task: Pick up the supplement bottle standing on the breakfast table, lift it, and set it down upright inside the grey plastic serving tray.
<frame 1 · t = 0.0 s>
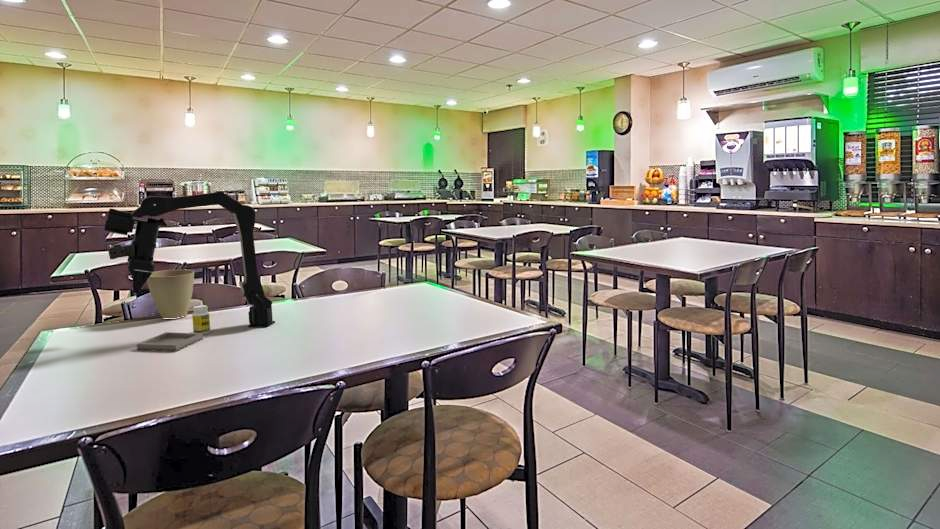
hand: (134, 290, 157), 15 cm above the table, tool pointing down, fingers open, 9 cm apart
tray: (171, 344, 156), on the table
supplement bottle: (202, 333, 168), on the table
plant pot: (174, 318, 188), on the table
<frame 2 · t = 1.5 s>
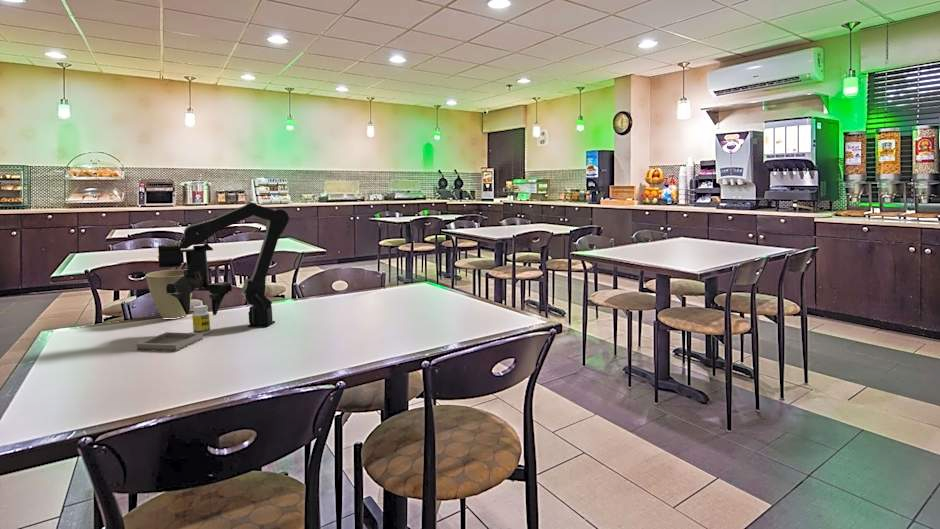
hand: (201, 314, 168), 6 cm above the table, tool pointing down, fingers open, 9 cm apart
nothing on the table moved.
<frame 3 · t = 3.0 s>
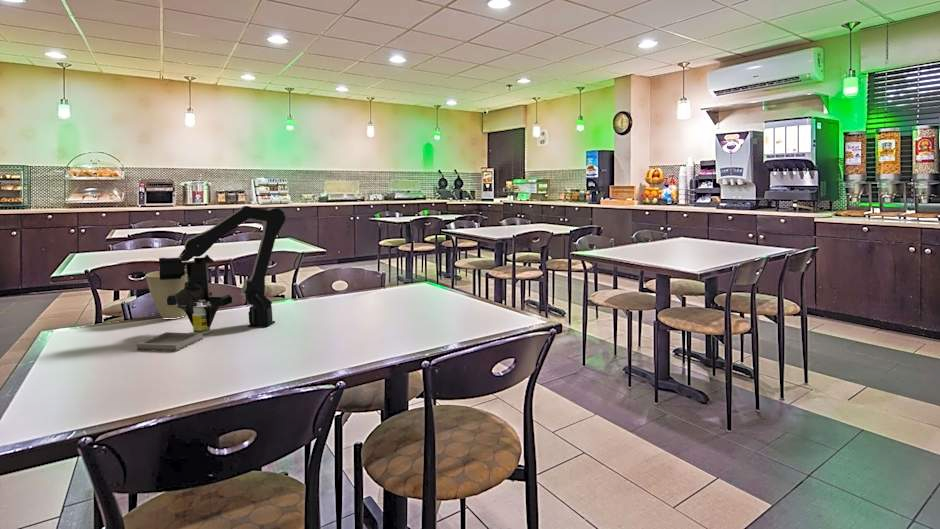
hand: (201, 326, 168), 2 cm above the table, tool pointing down, fingers closed on supplement bottle, 5 cm apart
supplement bottle: (202, 333, 168), on the table, touching gripper
everything else where it was.
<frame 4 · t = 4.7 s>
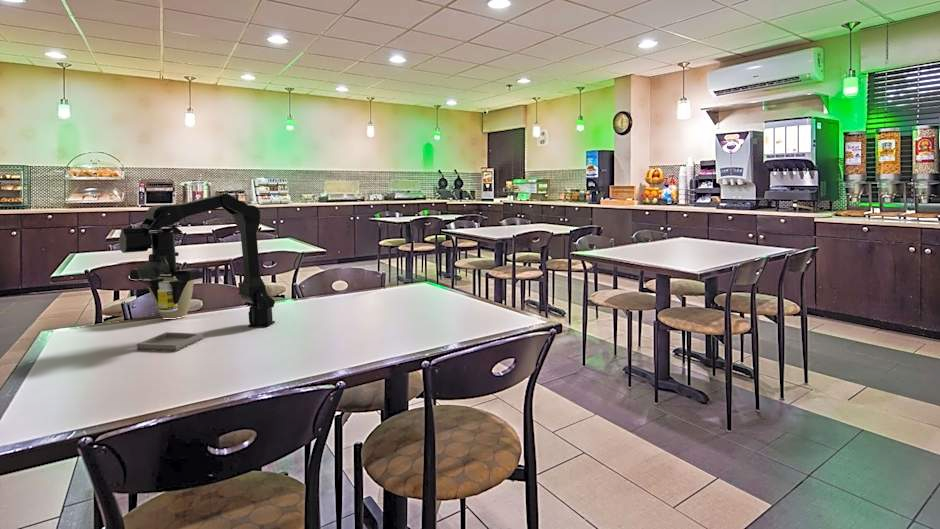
hand: (167, 303, 154), 12 cm above the table, tool pointing down, fingers closed on supplement bottle, 5 cm apart
supplement bottle: (168, 311, 155), point 10 cm above the table, touching gripper
everything else where it was.
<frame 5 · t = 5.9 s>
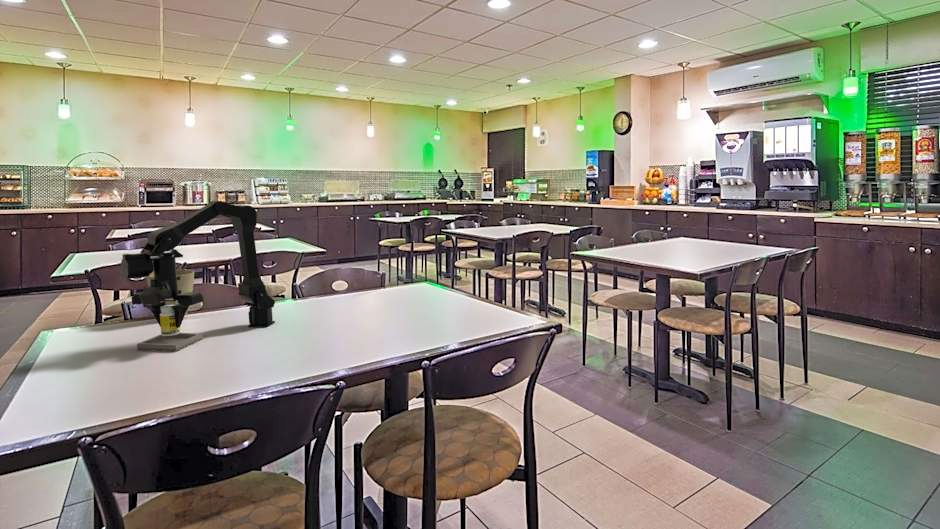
hand: (170, 327, 155), 5 cm above the table, tool pointing down, fingers closed on supplement bottle, 5 cm apart
supplement bottle: (170, 334, 155), point 3 cm above the table, touching gripper
everything else where it was.
when the fingers open (4 cm above the table, at t = 6.9 s): supplement bottle drops 1 cm, resting on tray.
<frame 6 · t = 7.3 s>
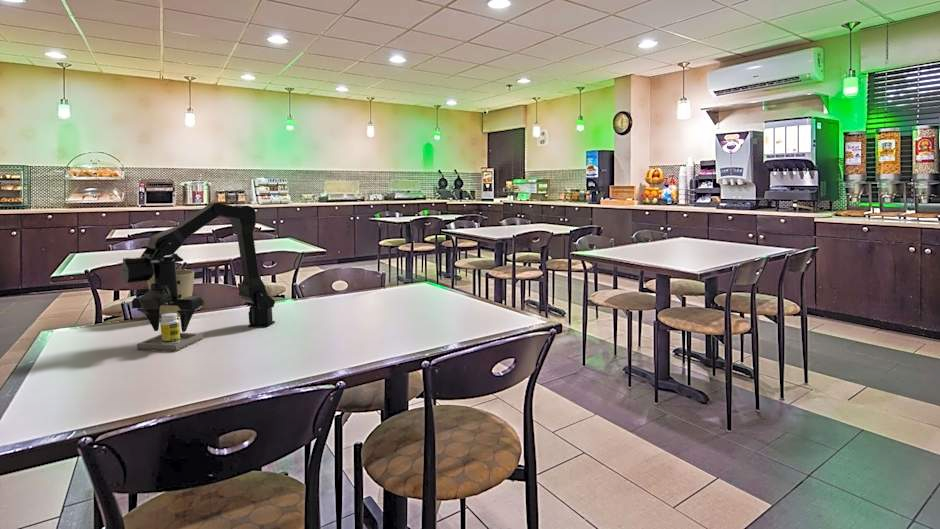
hand: (170, 331, 155), 4 cm above the table, tool pointing down, fingers open, 8 cm apart
supplement bottle: (171, 343, 156), resting on tray
everything else where it was.
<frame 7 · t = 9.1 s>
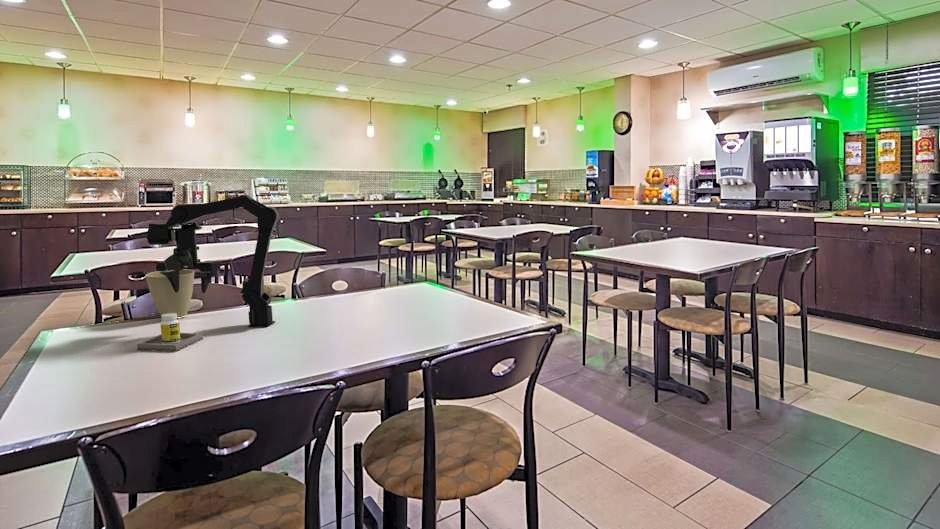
hand: (190, 292, 171), 12 cm above the table, tool pointing down, fingers open, 9 cm apart
nothing on the table moved.
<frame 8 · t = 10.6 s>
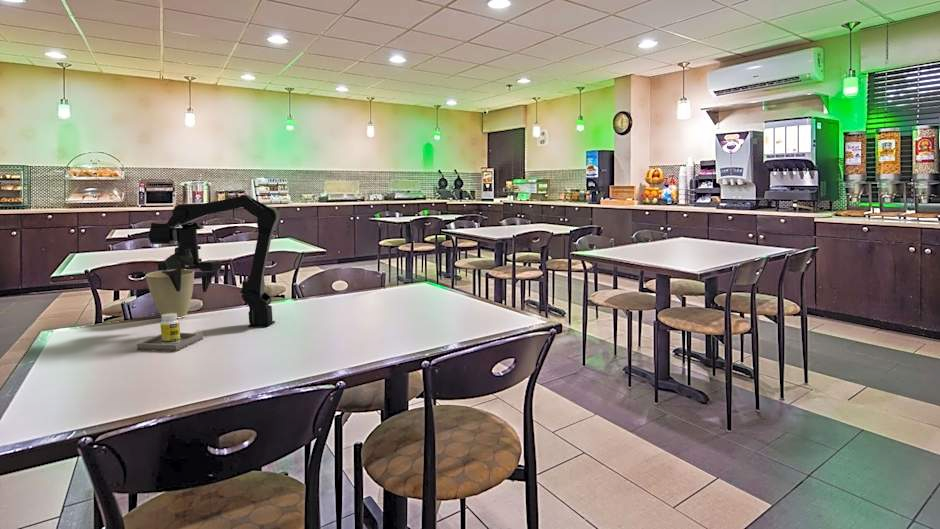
hand: (191, 291, 172), 12 cm above the table, tool pointing down, fingers open, 9 cm apart
nothing on the table moved.
at the end: supplement bottle inside the target area on the tray (0.1 cm from its centre), point 0.4 cm above the tray's base; supplement bottle tilted 0°; the gripper is holding nothing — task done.
